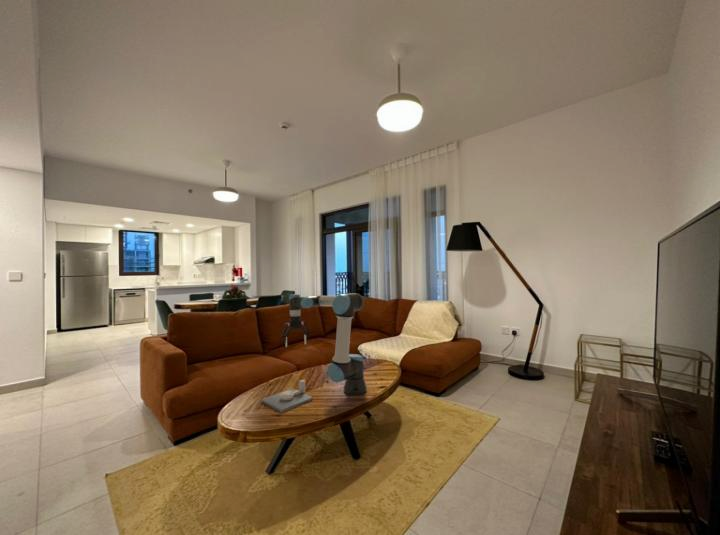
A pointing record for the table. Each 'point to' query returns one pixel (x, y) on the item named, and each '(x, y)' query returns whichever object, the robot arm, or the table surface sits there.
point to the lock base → (282, 405)
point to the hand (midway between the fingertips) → (296, 345)
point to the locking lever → (290, 394)
